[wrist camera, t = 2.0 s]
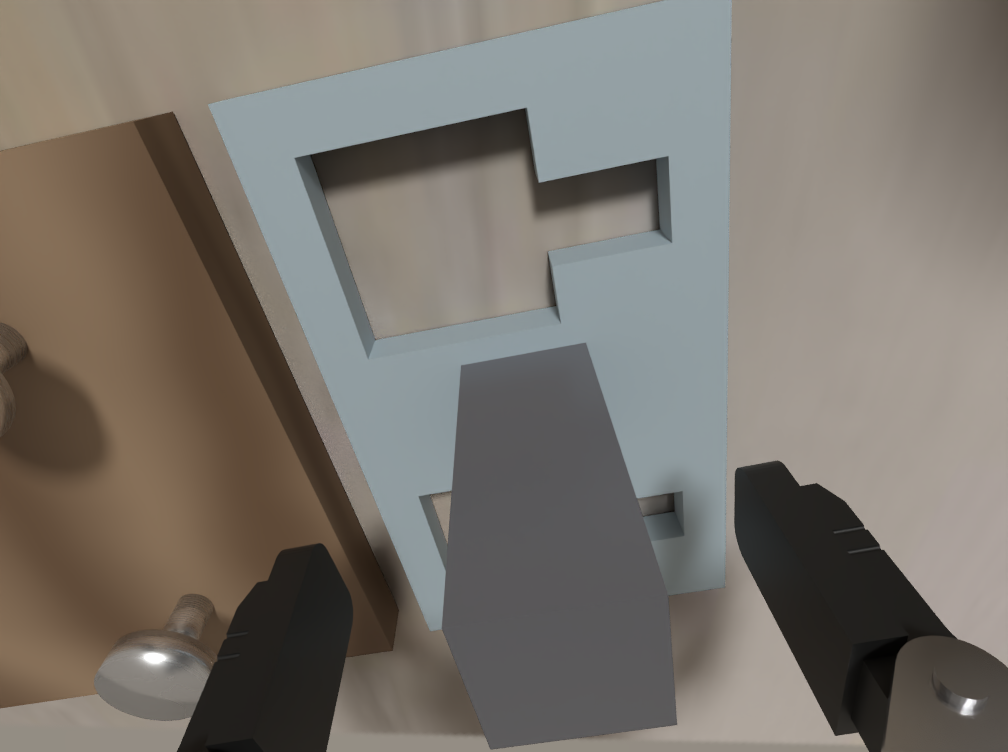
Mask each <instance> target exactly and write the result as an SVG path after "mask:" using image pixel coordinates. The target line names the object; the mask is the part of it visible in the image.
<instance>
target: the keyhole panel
mask: <svg viewBox="0 0 1008 752" xmlns="http://www.w3.org/2000/svg"><path fill="white" fill-rule="evenodd" d="M731 11H732V0H664V1H659V2H655V3H650V4H646V5H641V6H637V7H633V8H628V9H624V10H619V11H615V12H611V13H606V14H602V15H597V16H593V17H589V18H584V19H580V20H575V21H571V22H567V23H562V24H558V25H553V26H549V27H544V28H540V29H536V30H531V31H527V32H522V33H518V34H514V35H509V36H505V37H500V38H496V39H492V40H487V41H483V42H478V43H474V44H470V45H465V46H461V47H456V48H452V49H447V50H443V51H439V52H434V53H430V54H425V55H421V56H417V57H412V58H408V59H403V60H399V61H395V62H390V63H386V64H381V65H377V66H373V67H368V68H364V69H359V70H355V71H350V72H346V73H342V74H337V75H333V76H328V77H324V78H320V79H315V80H311V81H306V82H302V83H298V84H293V85H289V86H284V87H280V88H276V89H271V90H267V91H262V92H258V93H253V94H249V95H245V96H240V97H236V98H231V99H227V100H223V101H219V102H215V103H211V104H208V106H209V108H210V110H211V113H212V115H213V117H214V120H215V122H216V125H217V127H218V129H219V132H220V134H221V136H222V139H223V141H224V144H225V146H226V148H227V151H228V153H229V155H230V158H231V160H232V163H233V165H234V167H235V170H236V172H237V174H238V177H239V179H240V182H241V184H242V186H243V189H244V191H245V193H246V196H247V198H248V200H249V203H250V205H251V208H252V210H253V212H254V215H255V217H256V219H257V222H258V224H259V227H260V229H261V231H262V234H263V236H264V238H265V241H266V243H267V246H268V248H269V250H270V253H271V255H272V257H273V260H274V262H275V265H276V267H277V269H278V272H279V274H280V276H281V279H282V281H283V284H284V286H285V288H286V291H287V293H288V295H289V298H290V300H291V303H292V305H293V307H294V310H295V312H296V314H297V317H298V319H299V321H300V324H301V326H302V329H303V331H304V333H305V336H306V338H307V340H308V343H309V345H310V348H311V350H312V352H313V355H314V357H315V359H316V362H317V364H318V367H319V369H320V371H321V374H322V376H323V378H324V381H325V383H326V386H327V388H328V390H329V393H330V395H331V397H332V400H333V402H334V405H335V407H336V409H337V412H338V414H339V416H340V419H341V421H342V423H343V426H344V428H345V431H346V433H347V435H348V438H349V440H350V442H351V445H352V447H353V450H354V452H355V454H356V457H357V459H358V461H359V464H360V466H361V469H362V471H363V473H364V476H365V478H366V480H367V483H368V485H369V488H370V490H371V492H372V495H373V497H374V499H375V502H376V504H377V507H378V509H379V511H380V514H381V516H382V518H383V521H384V523H385V526H386V528H387V530H388V533H389V535H390V537H391V540H392V542H393V544H394V547H395V549H396V552H397V554H398V556H399V559H400V561H401V563H402V566H403V568H404V571H405V573H406V575H407V578H408V580H409V582H410V585H411V587H412V590H413V592H414V594H415V597H416V599H417V601H418V604H419V606H420V609H421V611H422V613H423V616H424V618H425V620H426V623H427V625H428V628H429V630H430V631H435V630H443V633H444V635H445V638H446V640H447V643H448V645H449V647H450V650H451V652H452V655H453V657H454V660H455V662H456V665H457V667H458V670H459V672H460V675H461V677H462V680H463V682H464V685H465V687H466V690H467V692H468V695H469V697H470V700H471V702H472V705H473V707H474V710H475V712H476V715H477V717H478V720H479V722H480V724H481V727H482V729H483V732H484V734H485V737H486V739H487V742H488V744H489V747H490V749H498V748H506V747H513V746H521V745H528V744H535V743H544V742H551V741H559V740H567V739H574V738H582V737H589V736H597V735H604V734H612V733H620V732H627V731H635V730H642V729H650V728H658V727H665V726H673V725H677V717H676V702H675V688H674V673H673V658H672V644H671V629H670V614H669V600H668V596H670V595H677V594H684V593H690V592H697V591H704V590H711V589H717V588H724V587H725V554H726V463H727V373H728V282H729V192H730V101H731ZM522 108H525V112H526V118H527V124H528V130H529V137H530V143H531V149H532V156H533V162H534V168H535V173H536V176H537V179H538V182H539V183H540V182H545V181H549V180H554V179H559V178H564V177H569V176H574V175H579V174H583V173H588V172H593V171H598V170H603V169H608V168H613V167H617V166H622V165H627V164H632V163H637V162H642V161H646V160H651V159H656V163H657V182H658V201H659V220H660V230H655V231H650V232H645V233H639V234H634V235H629V236H624V237H619V238H614V239H609V240H604V241H599V242H594V243H589V244H584V245H579V246H573V247H568V248H563V249H558V250H553V251H548V256H549V262H550V268H551V275H552V281H553V287H554V293H555V300H556V306H553V307H548V308H543V309H538V310H532V311H527V312H522V313H516V314H511V315H506V316H501V317H495V318H490V319H485V320H480V321H474V322H469V323H464V324H458V325H453V326H448V327H443V328H437V329H432V330H427V331H421V332H416V333H411V334H406V335H400V336H395V337H390V338H385V339H379V340H375V338H374V335H373V332H372V330H371V327H370V324H369V321H368V318H367V315H366V313H365V310H364V307H363V304H362V301H361V298H360V295H359V293H358V290H357V287H356V284H355V281H354V278H353V276H352V273H351V270H350V267H349V264H348V261H347V259H346V256H345V253H344V250H343V247H342V244H341V241H340V239H339V236H338V233H337V230H336V227H335V224H334V222H333V219H332V216H331V213H330V210H329V207H328V204H327V202H326V199H325V196H324V193H323V190H322V187H321V185H320V182H319V179H318V176H317V173H316V170H315V168H314V165H313V162H312V159H311V156H310V154H315V153H319V152H324V151H329V150H333V149H338V148H342V147H347V146H352V145H356V144H361V143H365V142H370V141H375V140H379V139H384V138H389V137H393V136H398V135H402V134H407V133H412V132H416V131H421V130H425V129H430V128H435V127H439V126H444V125H449V124H453V123H458V122H462V121H467V120H472V119H476V118H481V117H485V116H490V115H495V114H499V113H504V112H509V111H513V110H518V109H522ZM447 491H452V494H451V508H450V521H449V535H448V546H447V543H446V540H445V537H444V534H443V531H442V529H441V526H440V523H439V520H438V517H437V514H436V512H435V509H434V506H433V503H432V500H431V497H430V495H429V494H435V493H441V492H447ZM668 493H674V505H675V512H670V513H663V514H657V515H651V516H645V517H643V516H642V513H641V510H640V507H639V504H638V501H637V498H643V497H649V496H655V495H662V494H668Z"/></svg>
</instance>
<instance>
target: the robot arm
mask: <svg viewBox="0 0 1008 752" xmlns="http://www.w3.org/2000/svg"><path fill="white" fill-rule="evenodd" d="M734 524H735V533H736V538H737V542H738V545H739V549H740V551H741V554H742V556H743V558H744V560H745V562H746V564H747V566H748V568H749V570H750V572H751V574H752V576H753V578H754V580H755V582H756V584H757V586H758V587H759V589H760V591H761V593H762V595H763V597H764V599H765V601H766V603H767V605H768V607H769V609H770V611H771V613H772V614H773V616H774V618H775V620H776V622H777V624H778V626H779V628H780V630H781V632H782V634H783V636H784V638H785V640H786V641H787V643H788V645H789V647H790V649H791V651H792V653H793V655H794V657H795V659H796V661H797V663H798V665H799V667H800V669H801V670H802V672H803V674H804V676H805V678H806V680H807V682H808V684H809V686H810V688H811V690H812V692H813V694H814V696H815V697H816V699H817V701H818V703H819V705H820V707H821V709H822V711H823V713H824V715H825V717H826V719H827V721H828V723H829V724H830V726H831V728H832V730H833V732H834V734H835V736H838V735H844V734H851V733H858V732H859V734H860V736H861V738H862V739H863V741H864V743H865V745H866V747H867V748H868V750H869V752H1008V668H1007V667H1006V666H1005V665H1004V664H1003V663H1002V662H1000V661H999V660H998V659H997V658H995V657H994V656H992V655H991V654H989V653H988V652H986V651H984V650H983V649H981V648H979V647H977V646H975V645H972V644H970V643H967V642H965V641H962V640H959V639H957V638H956V637H955V636H954V635H953V634H952V633H951V632H950V631H949V630H948V629H947V628H946V627H945V626H944V624H943V623H942V622H941V621H940V619H939V618H938V617H937V616H936V614H935V613H934V612H933V611H932V609H931V608H930V607H929V606H928V604H927V603H926V602H925V601H924V599H923V598H922V597H921V596H920V594H919V593H918V592H917V591H916V589H915V588H914V587H913V586H912V585H911V583H910V582H909V581H908V580H907V578H906V577H905V576H904V575H903V573H902V572H901V571H900V570H899V568H898V567H897V566H896V565H895V563H894V562H893V561H892V560H891V558H890V557H889V556H888V555H887V553H886V552H885V551H884V550H881V549H880V545H879V543H878V542H877V541H876V540H875V538H874V537H873V536H872V535H871V533H870V532H869V531H868V530H865V528H864V525H863V523H862V522H861V521H860V520H859V518H858V517H857V516H856V515H855V513H854V512H853V511H852V510H851V508H850V507H849V506H848V505H847V503H846V502H845V501H844V500H842V499H840V498H839V497H837V496H836V495H834V494H833V493H831V492H830V491H828V490H827V489H825V488H823V487H822V486H820V485H819V484H817V483H816V484H810V485H805V486H799V484H798V483H797V481H796V480H795V479H794V477H793V476H792V475H791V473H790V472H789V470H788V469H787V468H786V466H785V465H784V464H783V463H782V462H780V461H773V462H767V463H762V464H756V465H751V466H745V467H740V468H737V469H736V472H735V518H734ZM352 624H353V604H352V599H351V595H350V592H349V590H348V588H347V586H346V584H345V582H344V581H343V579H342V577H341V575H340V573H339V571H338V569H337V567H336V565H335V563H334V561H333V559H332V558H331V556H330V554H329V552H328V550H327V548H326V547H325V546H324V545H323V544H322V543H317V544H311V545H306V546H301V547H295V548H290V549H284V550H282V551H281V552H280V553H279V554H278V555H277V558H276V560H275V563H274V565H273V568H272V570H271V573H270V576H269V578H268V580H267V581H262V582H257V583H256V585H255V586H254V587H253V588H252V590H251V591H250V592H249V593H248V595H247V596H246V597H245V598H244V600H243V601H242V602H241V603H240V605H239V606H238V607H237V609H236V612H235V614H234V617H233V619H232V621H231V624H230V626H229V629H228V631H227V633H226V635H227V638H226V639H224V641H223V643H222V645H221V648H220V650H219V653H218V655H217V658H218V660H217V662H214V665H213V667H212V669H211V672H210V674H209V677H208V679H207V681H206V684H205V686H204V689H203V691H202V693H201V696H200V698H199V701H198V703H197V705H196V708H195V710H194V713H193V715H192V717H191V720H190V722H189V725H188V727H187V729H186V732H185V734H184V737H183V739H182V742H181V744H180V746H179V748H178V750H177V752H326V750H327V745H328V740H329V735H330V730H331V726H332V721H333V716H334V711H335V706H336V702H337V697H338V692H339V687H340V682H341V678H342V673H343V668H344V663H345V658H346V654H347V649H348V644H349V639H350V634H351V629H352Z"/></svg>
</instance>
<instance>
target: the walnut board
mask: <svg viewBox="0 0 1008 752" xmlns="http://www.w3.org/2000/svg"><path fill="white" fill-rule="evenodd" d="M317 543H322V544H323V545H324V546H325V547H326V548H327V550H328V552H329V554H330V556H331V558H332V559H333V561H334V563H335V565H336V567H337V569H338V571H339V573H340V575H341V577H342V579H343V581H344V582H345V584H346V586H347V588H348V590H349V592H350V595H351V599H352V604H353V624H352V629H351V634H350V639H349V644H348V649H347V654H346V657H352V656H359V655H366V654H373V653H380V652H386V651H393V645H394V638H395V632H396V625H397V618H398V612H399V610H398V608H397V605H396V603H395V601H394V599H393V597H392V594H391V592H390V590H389V588H388V586H387V583H386V581H385V579H384V577H383V575H382V572H381V570H380V568H379V566H378V564H377V561H376V559H375V557H374V555H373V552H372V550H371V548H370V546H369V544H368V541H367V539H366V537H365V535H364V533H363V530H362V528H361V526H360V524H359V522H358V519H357V517H356V515H355V513H354V511H353V508H352V506H351V504H350V502H349V500H348V497H347V495H346V493H345V491H344V489H343V486H342V484H341V482H340V480H339V478H338V475H337V473H336V471H335V469H334V467H333V464H332V462H331V460H330V458H329V455H328V453H327V451H326V449H325V447H324V444H323V442H322V440H321V438H320V436H319V433H318V431H317V429H316V427H315V425H314V422H313V420H312V418H311V416H310V414H309V411H308V409H307V407H306V405H305V403H304V400H303V398H302V396H301V394H300V392H299V389H298V387H297V385H296V383H295V381H294V378H293V376H292V374H291V372H290V369H289V367H288V365H287V363H286V361H285V358H284V356H283V354H282V352H281V350H280V347H279V345H278V343H277V341H276V339H275V336H274V334H273V332H272V330H271V328H270V325H269V323H268V321H267V319H266V317H265V314H264V312H263V310H262V308H261V306H260V303H259V301H258V299H257V297H256V295H255V292H254V290H253V288H252V286H251V284H250V281H249V279H248V277H247V275H246V272H245V270H244V268H243V266H242V264H241V261H240V259H239V257H238V255H237V253H236V250H235V248H234V246H233V244H232V242H231V239H230V237H229V235H228V233H227V231H226V228H225V226H224V224H223V222H222V220H221V217H220V215H219V213H218V211H217V209H216V206H215V204H214V202H213V200H212V198H211V195H210V193H209V191H208V189H207V187H206V184H205V182H204V180H203V178H202V175H201V173H200V171H199V169H198V167H197V164H196V162H195V160H194V158H193V156H192V153H191V151H190V149H189V147H188V145H187V142H186V140H185V138H184V136H183V134H182V131H181V129H180V127H179V125H178V123H177V120H176V118H175V116H174V114H173V112H170V113H165V114H161V115H156V116H152V117H148V118H143V119H139V120H134V121H130V122H126V123H121V124H117V125H112V126H108V127H104V128H99V129H95V130H90V131H86V132H82V133H77V134H73V135H68V136H64V137H59V138H55V139H51V140H46V141H42V142H37V143H33V144H29V145H24V146H20V147H15V148H11V149H7V150H2V151H0V708H5V707H12V706H19V705H26V704H33V703H39V702H46V701H53V700H60V699H67V698H73V697H80V696H87V695H94V694H99V695H100V697H101V698H102V699H103V700H105V701H106V702H107V703H108V704H110V705H111V706H113V707H114V708H116V709H118V710H120V711H122V712H125V713H127V714H130V715H133V716H136V717H140V718H145V719H150V720H161V721H172V720H180V719H185V718H189V717H192V715H193V713H194V710H195V708H196V705H197V703H198V701H199V698H200V696H201V693H202V691H203V689H204V686H205V684H206V681H207V679H208V677H209V674H210V672H211V669H212V667H213V665H214V662H217V660H218V658H217V655H218V653H219V650H220V648H221V645H222V643H223V641H224V639H226V638H227V635H226V633H227V631H228V629H229V626H230V624H231V621H232V619H233V617H234V614H235V612H236V609H237V607H238V606H239V605H240V603H241V602H242V601H243V600H244V598H245V597H246V596H247V595H248V593H249V592H250V591H251V590H252V588H253V587H254V586H255V585H256V583H257V582H262V581H267V580H268V578H269V576H270V573H271V570H272V568H273V565H274V563H275V560H276V558H277V555H278V554H279V553H280V552H281V551H282V550H284V549H290V548H295V547H301V546H306V545H311V544H317Z"/></svg>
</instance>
